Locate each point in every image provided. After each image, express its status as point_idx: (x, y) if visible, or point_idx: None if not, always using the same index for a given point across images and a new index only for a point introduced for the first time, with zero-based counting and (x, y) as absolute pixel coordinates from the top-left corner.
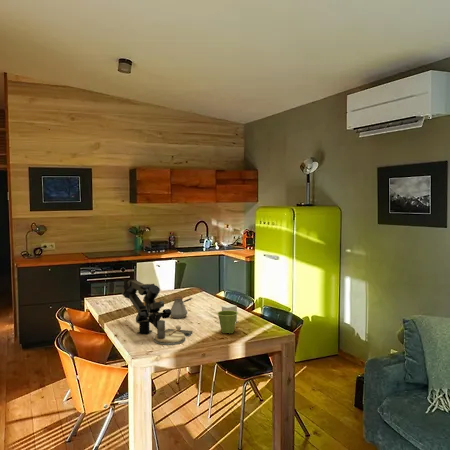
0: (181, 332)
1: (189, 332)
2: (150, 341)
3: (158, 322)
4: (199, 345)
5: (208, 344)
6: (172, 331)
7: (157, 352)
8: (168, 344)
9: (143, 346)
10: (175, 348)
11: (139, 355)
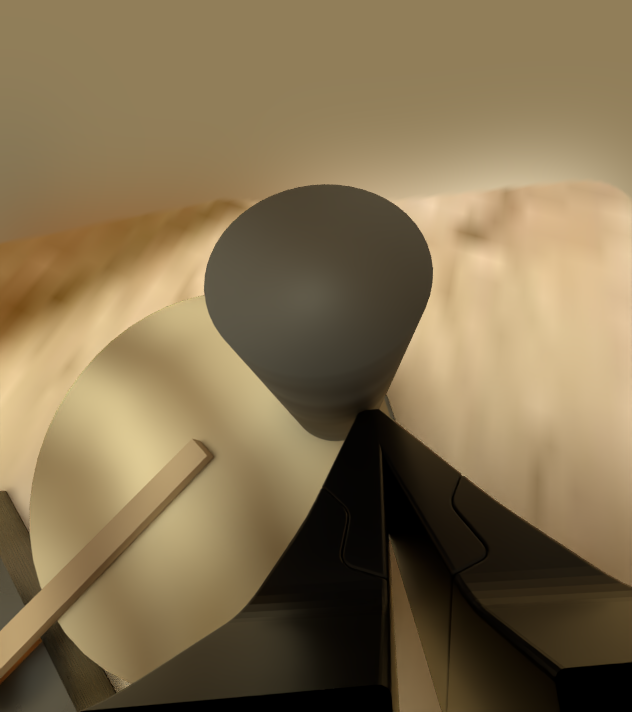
0: (4, 579)
1: None
2: None
3: (406, 227)
4: (103, 236)
5: (44, 235)
6: (113, 546)
7: (427, 199)
8: None
9: (532, 366)
10: None
11: (572, 183)
